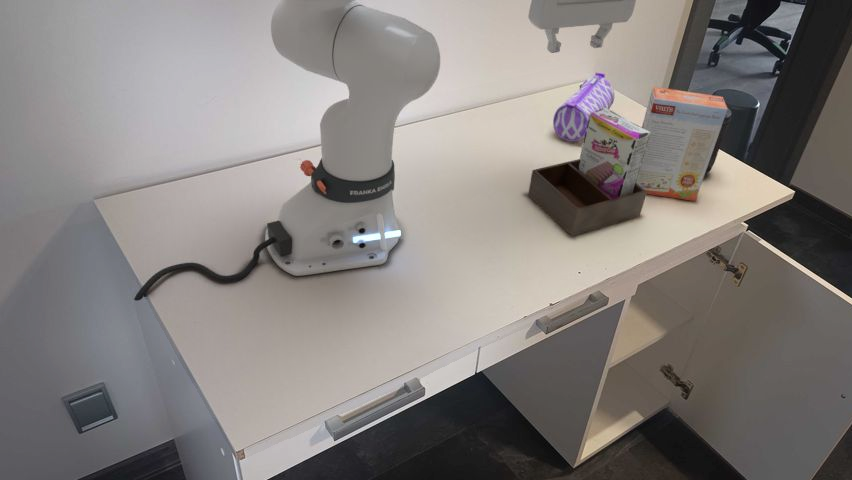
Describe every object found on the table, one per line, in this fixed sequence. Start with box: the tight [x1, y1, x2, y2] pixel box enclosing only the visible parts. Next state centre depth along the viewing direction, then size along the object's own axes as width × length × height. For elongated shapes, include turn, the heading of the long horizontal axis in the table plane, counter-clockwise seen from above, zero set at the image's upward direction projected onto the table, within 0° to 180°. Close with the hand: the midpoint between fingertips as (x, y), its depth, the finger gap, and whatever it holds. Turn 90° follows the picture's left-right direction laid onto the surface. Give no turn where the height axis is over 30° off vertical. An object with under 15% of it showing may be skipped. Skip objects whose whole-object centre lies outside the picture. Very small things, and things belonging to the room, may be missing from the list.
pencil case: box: [552, 71, 615, 143], centre depth 158 cm, size 22×9×10 cm, turn 158°
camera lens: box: [703, 107, 732, 179], centre depth 146 cm, size 8×8×15 cm
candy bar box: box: [578, 108, 650, 199], centre depth 131 cm, size 11×5×16 cm, turn 45°
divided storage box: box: [527, 158, 648, 237], centre depth 133 cm, size 17×15×6 cm
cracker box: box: [636, 86, 728, 202], centre depth 136 cm, size 14×6×21 cm, turn 85°
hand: (574, 49), depth 120 cm, fingers open, 8 cm apart
